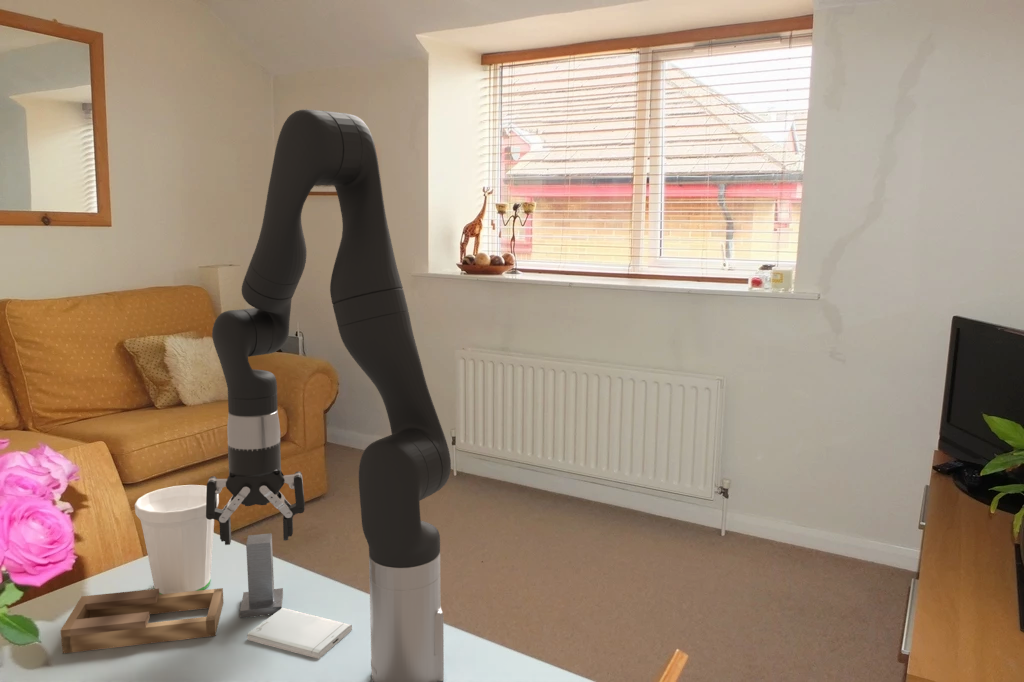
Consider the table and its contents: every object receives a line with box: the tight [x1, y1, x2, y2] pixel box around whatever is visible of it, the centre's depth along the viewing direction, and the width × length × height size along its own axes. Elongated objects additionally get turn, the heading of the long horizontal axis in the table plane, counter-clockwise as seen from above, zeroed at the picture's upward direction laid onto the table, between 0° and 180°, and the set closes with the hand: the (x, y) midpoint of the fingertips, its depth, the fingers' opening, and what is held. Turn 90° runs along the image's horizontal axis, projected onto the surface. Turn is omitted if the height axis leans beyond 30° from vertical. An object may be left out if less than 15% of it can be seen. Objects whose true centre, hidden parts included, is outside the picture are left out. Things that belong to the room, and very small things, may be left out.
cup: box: [134, 484, 220, 594], centre depth 124 cm, size 12×12×15 cm
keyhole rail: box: [60, 587, 225, 654], centre depth 112 cm, size 20×10×4 cm, turn 104°
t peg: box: [239, 533, 284, 619], centre depth 118 cm, size 6×6×11 cm
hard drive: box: [246, 607, 353, 660], centre depth 111 cm, size 2×8×12 cm
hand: (257, 540), depth 117 cm, fingers open, 8 cm apart
